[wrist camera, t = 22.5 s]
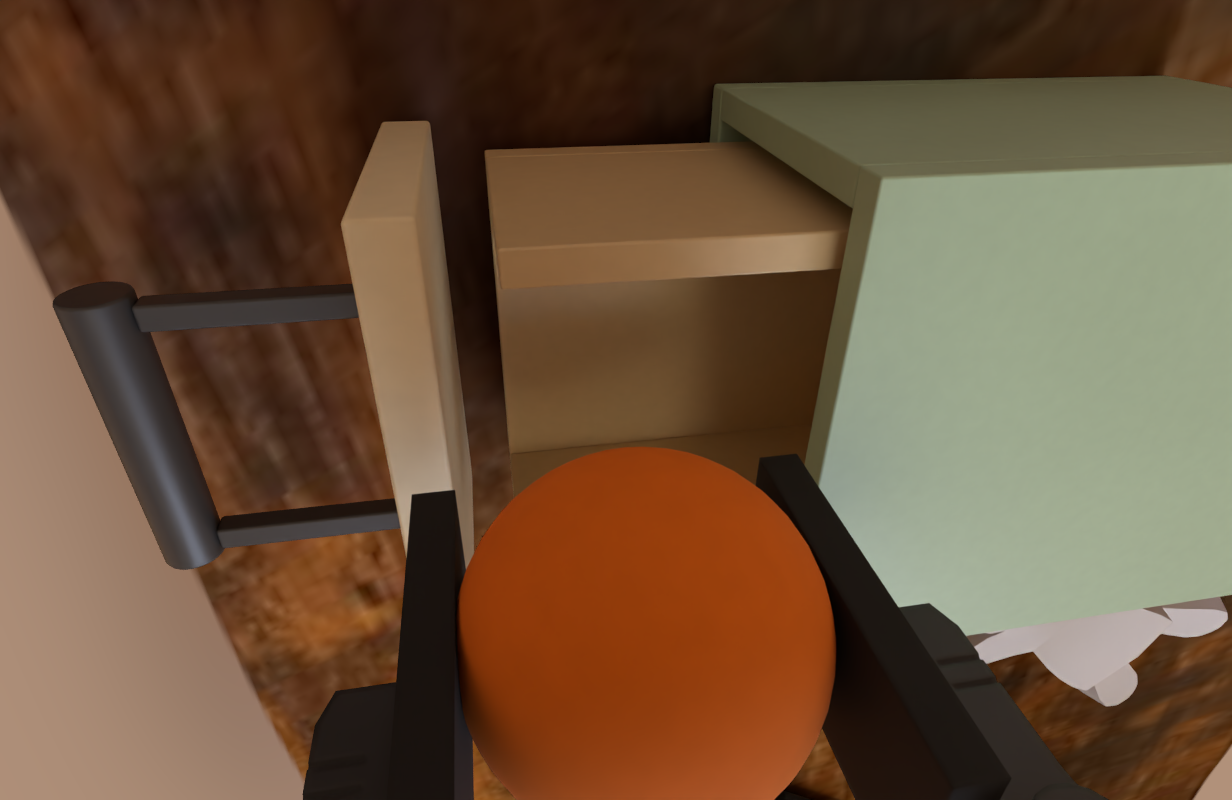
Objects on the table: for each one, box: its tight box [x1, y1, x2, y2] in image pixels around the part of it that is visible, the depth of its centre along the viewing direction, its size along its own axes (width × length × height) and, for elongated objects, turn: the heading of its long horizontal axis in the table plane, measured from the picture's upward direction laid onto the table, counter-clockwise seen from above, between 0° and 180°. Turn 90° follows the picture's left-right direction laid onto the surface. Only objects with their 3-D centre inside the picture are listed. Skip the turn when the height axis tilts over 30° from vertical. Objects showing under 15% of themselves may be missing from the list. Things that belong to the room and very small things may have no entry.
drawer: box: [53, 121, 853, 570], centre depth 19 cm, size 20×11×8 cm, turn 90°
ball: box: [456, 447, 836, 800], centre depth 12 cm, size 6×6×6 cm
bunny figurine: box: [966, 597, 1228, 706], centre depth 32 cm, size 10×5×15 cm
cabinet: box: [710, 76, 1232, 636], centre depth 21 cm, size 15×13×10 cm
